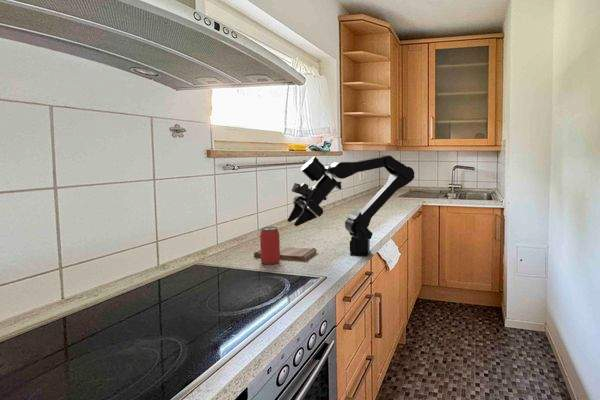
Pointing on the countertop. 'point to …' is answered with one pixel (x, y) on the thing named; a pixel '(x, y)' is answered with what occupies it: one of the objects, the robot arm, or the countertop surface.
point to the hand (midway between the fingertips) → (291, 223)
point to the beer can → (270, 245)
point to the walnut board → (293, 253)
